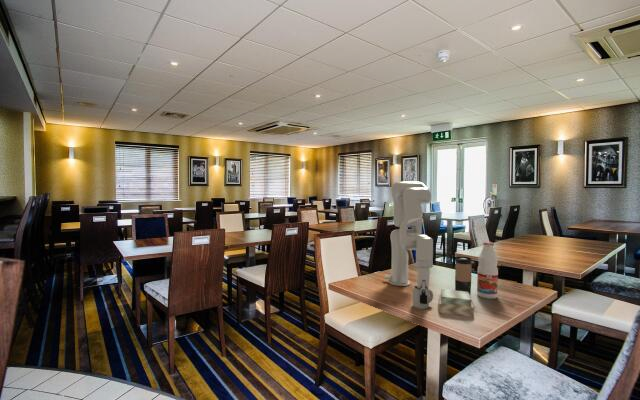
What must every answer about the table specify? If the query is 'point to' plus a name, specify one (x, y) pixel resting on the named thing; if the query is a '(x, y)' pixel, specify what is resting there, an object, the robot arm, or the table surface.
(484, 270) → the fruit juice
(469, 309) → the camouflage patterned box
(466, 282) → the travel mug
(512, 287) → the table surface
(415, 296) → the cup
